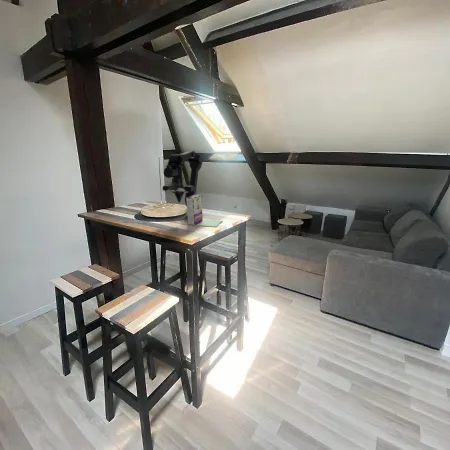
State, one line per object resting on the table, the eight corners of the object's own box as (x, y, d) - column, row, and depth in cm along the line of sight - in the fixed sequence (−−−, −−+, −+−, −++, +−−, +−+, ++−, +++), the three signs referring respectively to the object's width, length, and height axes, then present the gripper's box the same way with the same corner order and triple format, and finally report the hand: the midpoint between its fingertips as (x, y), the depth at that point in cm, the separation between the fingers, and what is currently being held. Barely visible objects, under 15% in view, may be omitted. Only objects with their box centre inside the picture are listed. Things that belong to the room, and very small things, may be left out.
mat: (196, 225, 142) (196, 224, 142) (204, 219, 154) (204, 219, 154) (216, 227, 138) (216, 226, 138) (222, 221, 150) (222, 220, 150)
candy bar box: (195, 219, 154) (194, 194, 149) (202, 220, 152) (202, 194, 148) (187, 224, 144) (185, 197, 139) (194, 225, 142) (193, 197, 138)
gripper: (156, 177, 138) (158, 204, 143) (186, 178, 133) (187, 205, 137) (166, 175, 148) (168, 200, 153) (194, 176, 143) (195, 202, 148)
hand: (179, 202), depth 147 cm, fingers closed
